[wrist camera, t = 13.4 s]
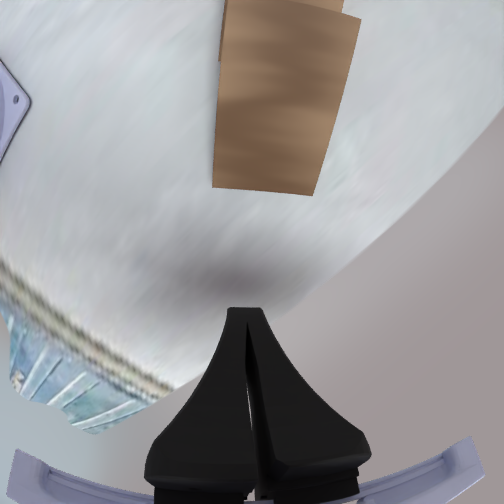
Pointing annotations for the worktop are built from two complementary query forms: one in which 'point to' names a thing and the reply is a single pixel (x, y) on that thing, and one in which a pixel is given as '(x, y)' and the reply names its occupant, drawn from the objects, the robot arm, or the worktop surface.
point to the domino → (279, 93)
